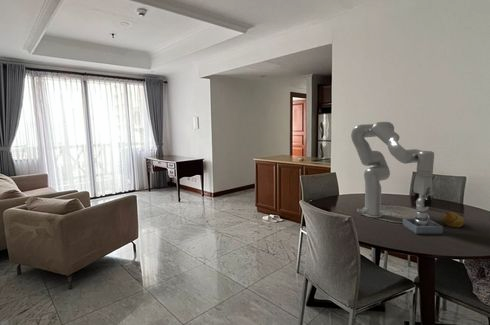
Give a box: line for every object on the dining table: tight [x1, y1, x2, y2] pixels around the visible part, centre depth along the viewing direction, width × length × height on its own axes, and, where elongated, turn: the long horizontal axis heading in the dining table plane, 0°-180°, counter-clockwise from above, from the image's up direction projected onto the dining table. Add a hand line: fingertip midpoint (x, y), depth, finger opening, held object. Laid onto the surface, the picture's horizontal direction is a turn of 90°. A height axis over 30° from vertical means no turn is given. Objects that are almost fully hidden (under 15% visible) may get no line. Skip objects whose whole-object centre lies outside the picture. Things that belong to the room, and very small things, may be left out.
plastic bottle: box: [415, 194, 430, 227], centre depth 158 cm, size 6×7×20 cm
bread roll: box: [442, 211, 465, 228], centre depth 165 cm, size 13×10×8 cm
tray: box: [401, 217, 444, 235], centre depth 159 cm, size 14×14×4 cm
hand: (421, 203), depth 158 cm, fingers open, 9 cm apart
